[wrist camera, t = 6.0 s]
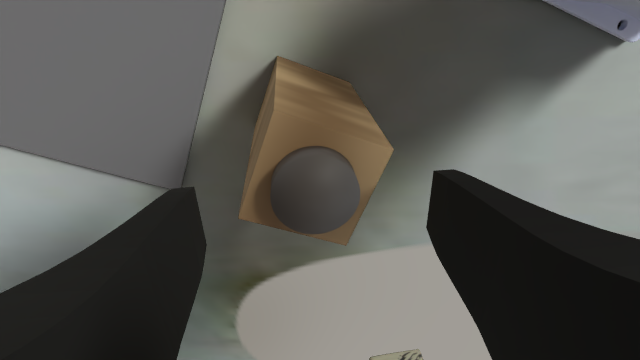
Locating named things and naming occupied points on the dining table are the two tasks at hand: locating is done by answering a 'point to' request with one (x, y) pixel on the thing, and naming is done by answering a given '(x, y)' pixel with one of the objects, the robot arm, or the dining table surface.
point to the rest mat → (107, 81)
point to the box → (400, 356)
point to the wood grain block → (312, 155)
